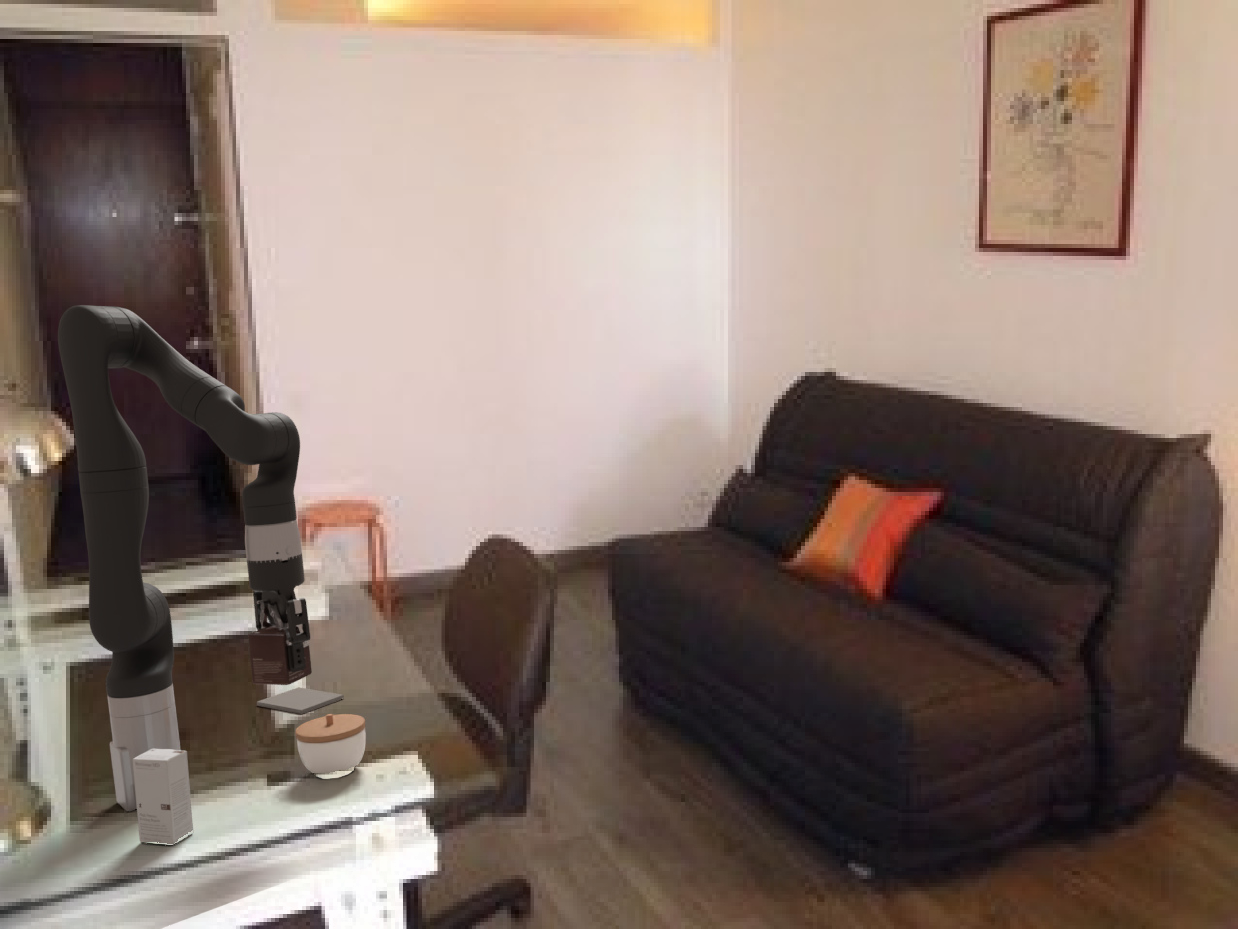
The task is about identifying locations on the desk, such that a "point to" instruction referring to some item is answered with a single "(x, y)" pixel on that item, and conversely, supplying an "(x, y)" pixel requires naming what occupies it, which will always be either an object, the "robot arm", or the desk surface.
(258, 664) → the box
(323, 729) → the lidded jar
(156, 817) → the skincare box
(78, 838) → the desk surface
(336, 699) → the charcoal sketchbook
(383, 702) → the desk surface
